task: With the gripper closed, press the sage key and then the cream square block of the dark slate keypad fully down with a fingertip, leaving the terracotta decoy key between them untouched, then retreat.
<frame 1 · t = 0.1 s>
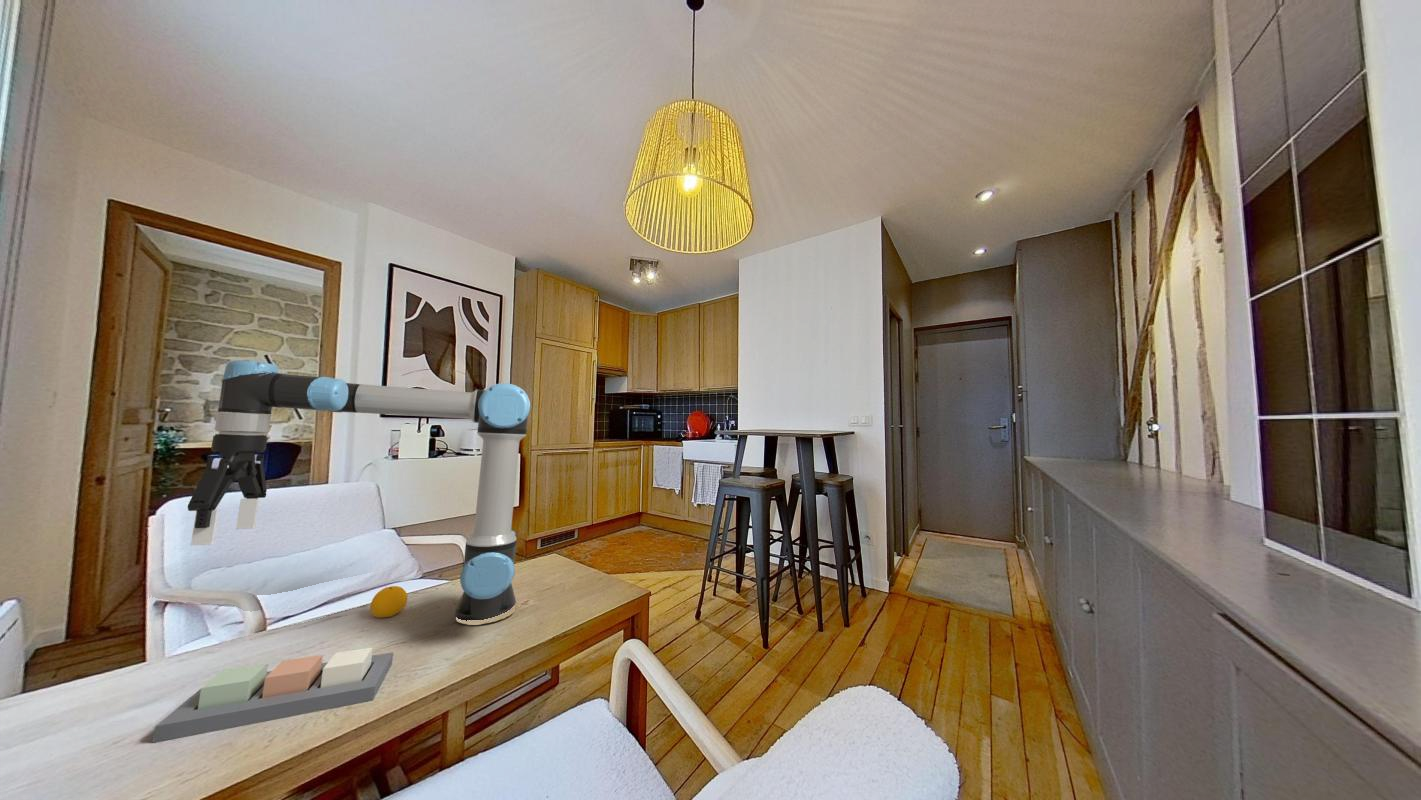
hand: (225, 536, 83), 28 cm above the table, fingers open, 13 cm apart
yellow lemon: (387, 615, 110), on the table
cream square block: (348, 666, 80), point 4 cm above the table, slide at 0.0 cm
keypad board: (291, 697, 76), on the table
key o: (234, 684, 73), point 4 cm above the table, slide at 0.0 cm
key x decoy: (294, 675, 76), point 4 cm above the table, slide at 0.0 cm
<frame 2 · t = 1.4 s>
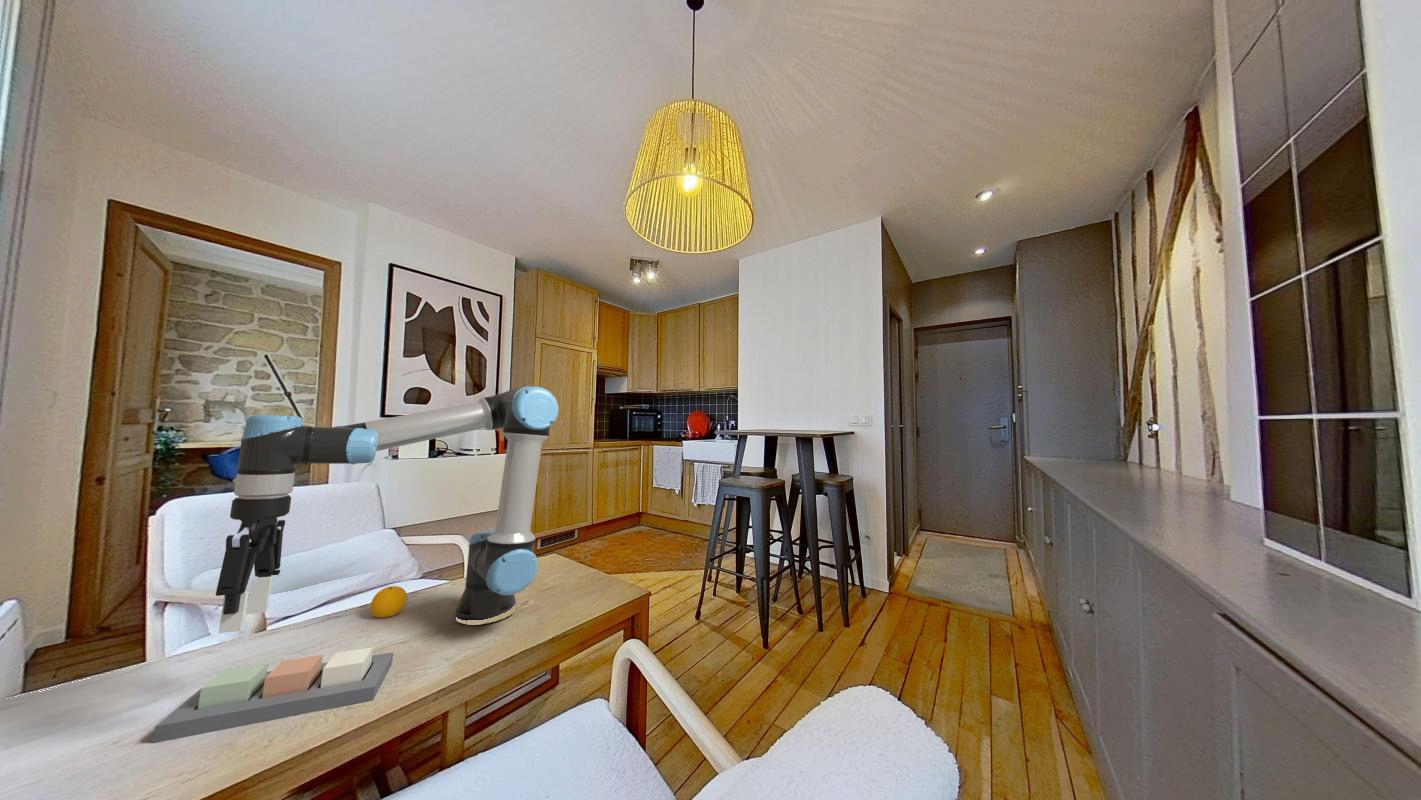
hand: (244, 621, 74), 15 cm above the table, fingers open, 7 cm apart
nothing on the table moved.
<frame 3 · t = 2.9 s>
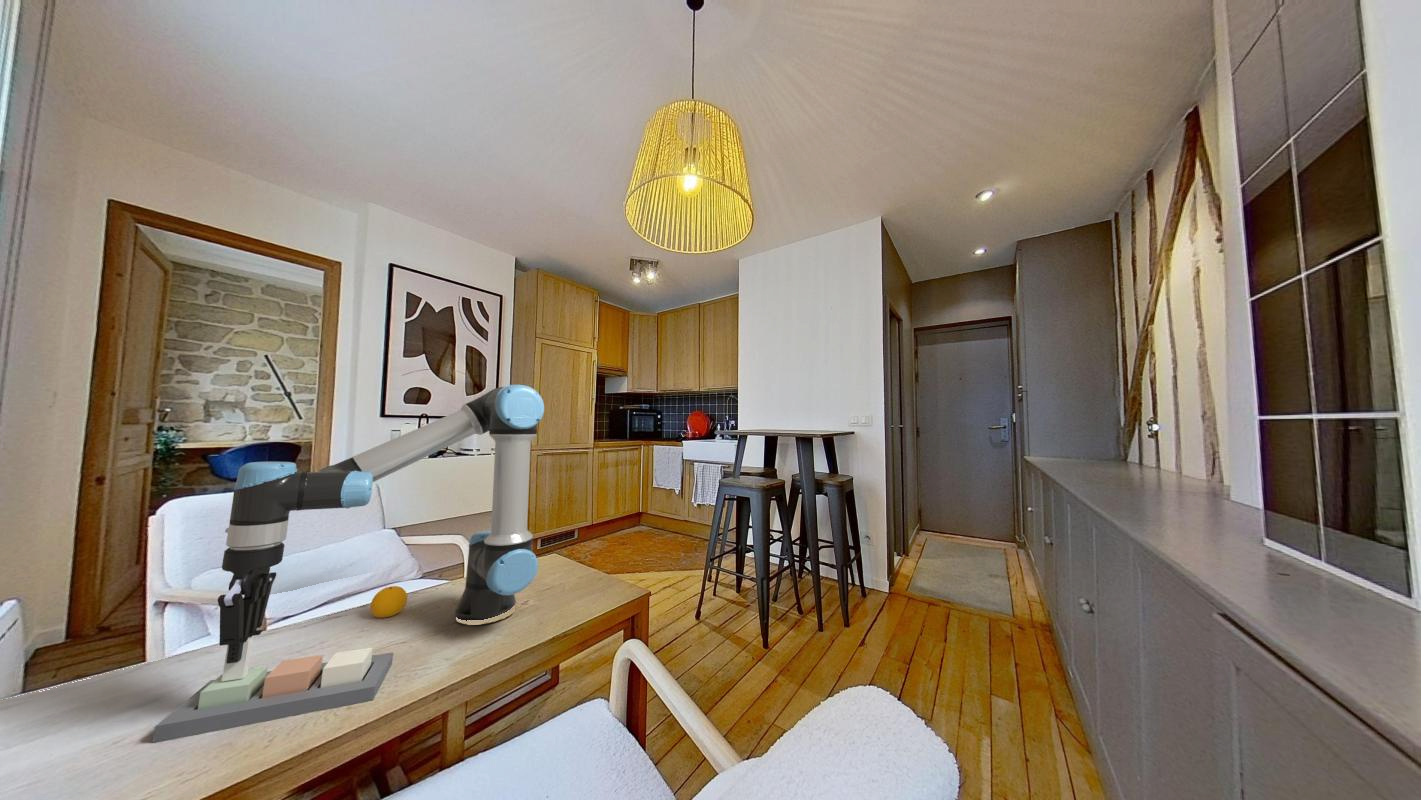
hand: (234, 677, 73), 5 cm above the table, fingers closed
key o: (234, 688, 73), point 3 cm above the table, slide at 0.7 cm, touching gripper
everything else where it was.
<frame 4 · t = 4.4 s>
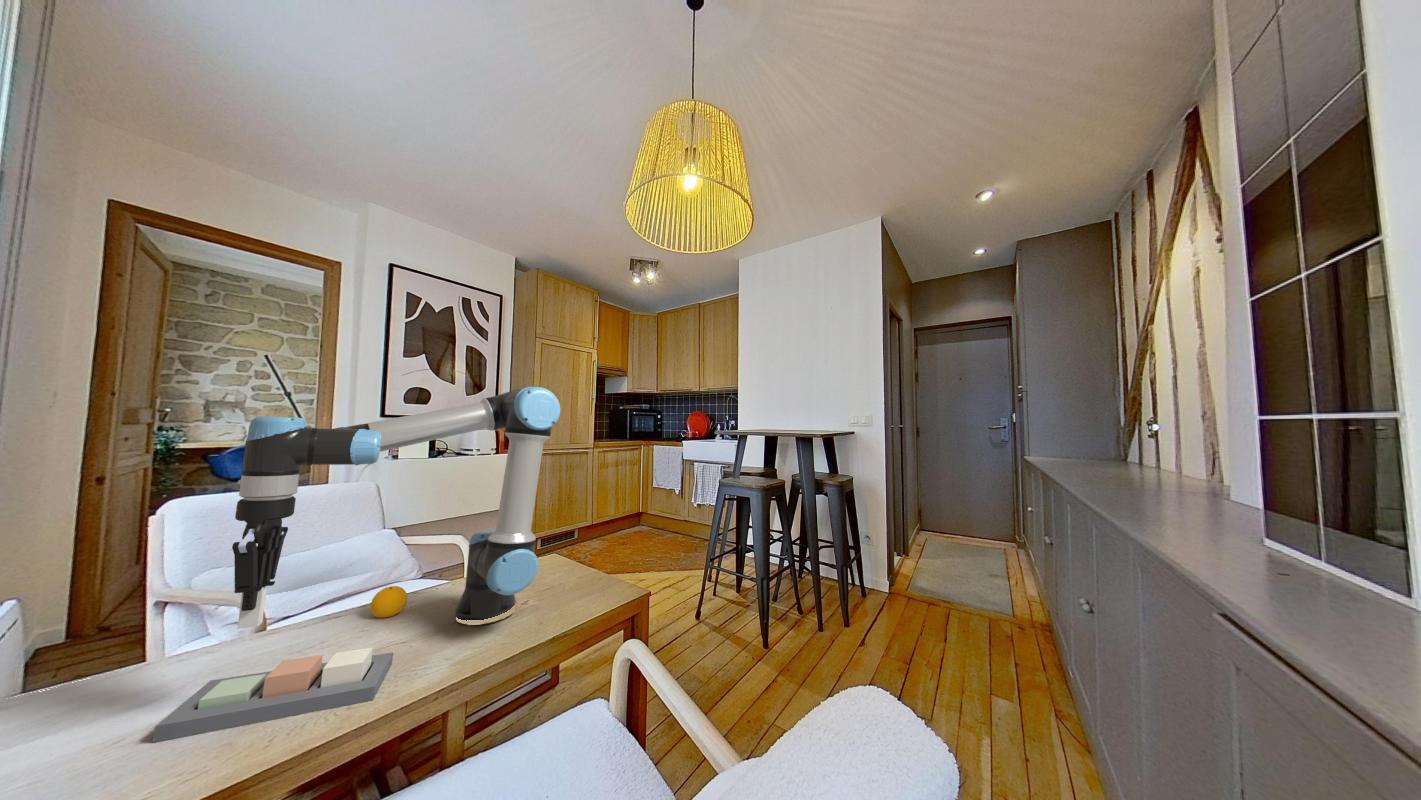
hand: (249, 625, 74), 14 cm above the table, fingers closed
key o: (233, 696, 72), point 2 cm above the table, slide at 2.0 cm
everything else where it was.
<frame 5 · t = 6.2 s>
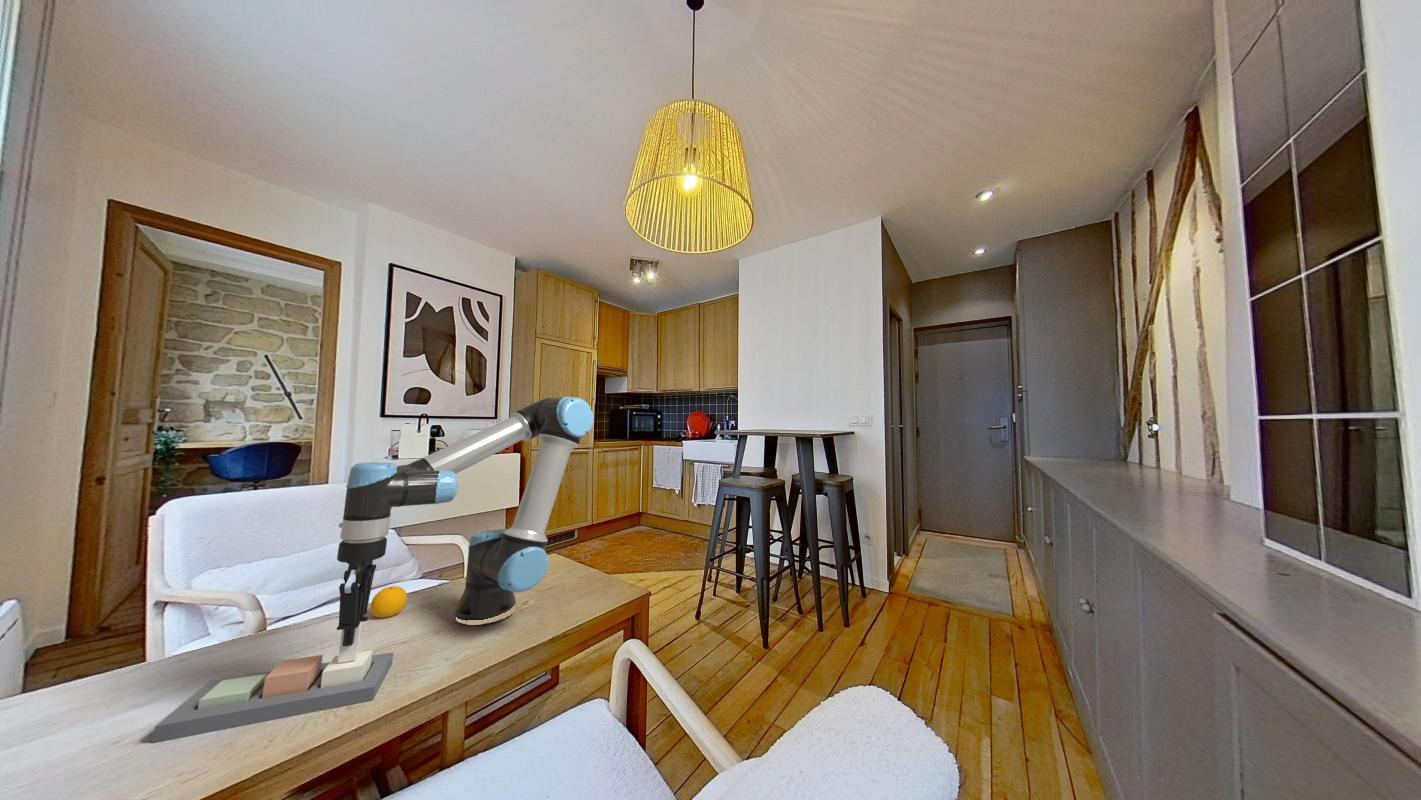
hand: (347, 659, 80), 5 cm above the table, fingers closed
cream square block: (347, 669, 80), point 3 cm above the table, slide at 0.6 cm, touching gripper
everything else where it was.
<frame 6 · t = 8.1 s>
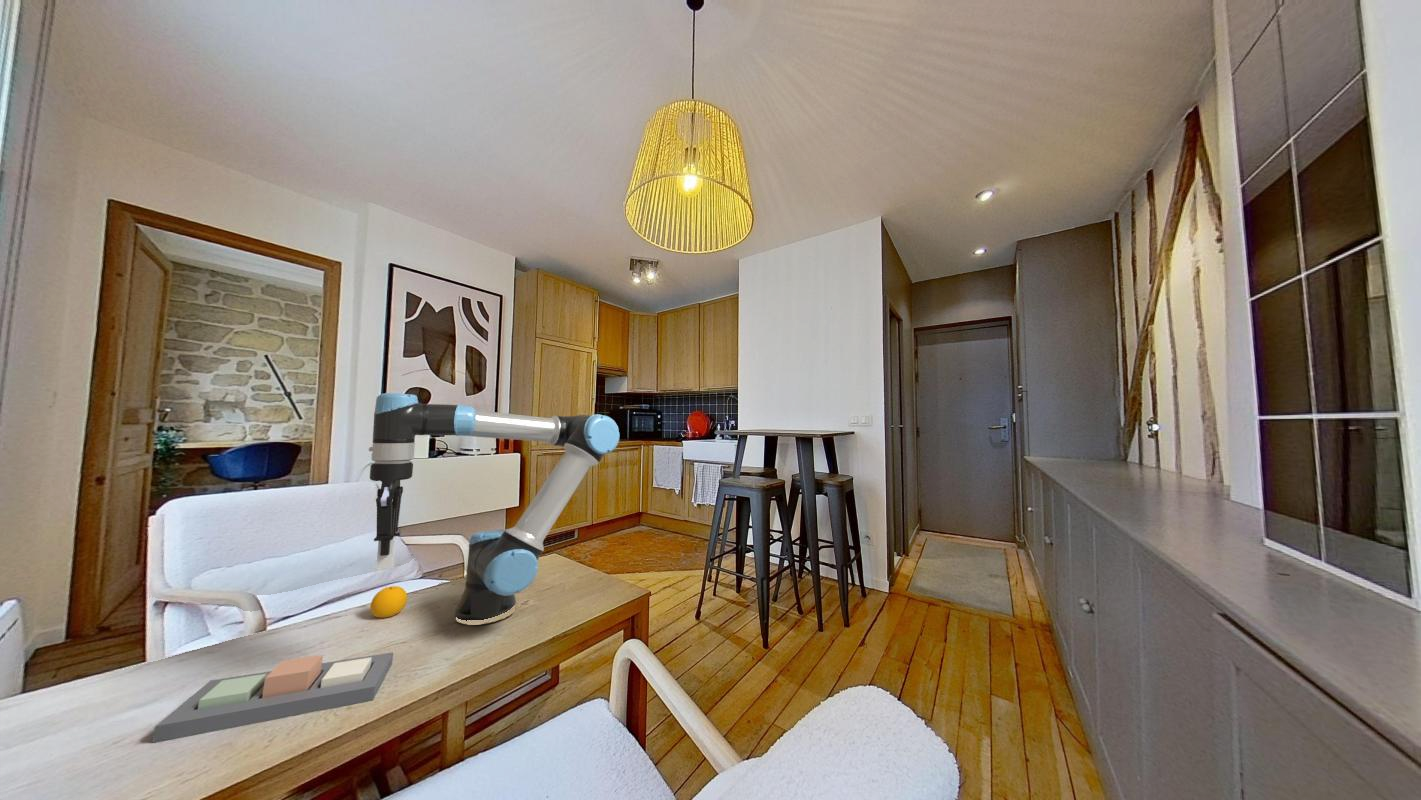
hand: (385, 568, 88), 21 cm above the table, fingers closed
cream square block: (346, 677, 79), point 2 cm above the table, slide at 2.0 cm
everything else where it was.
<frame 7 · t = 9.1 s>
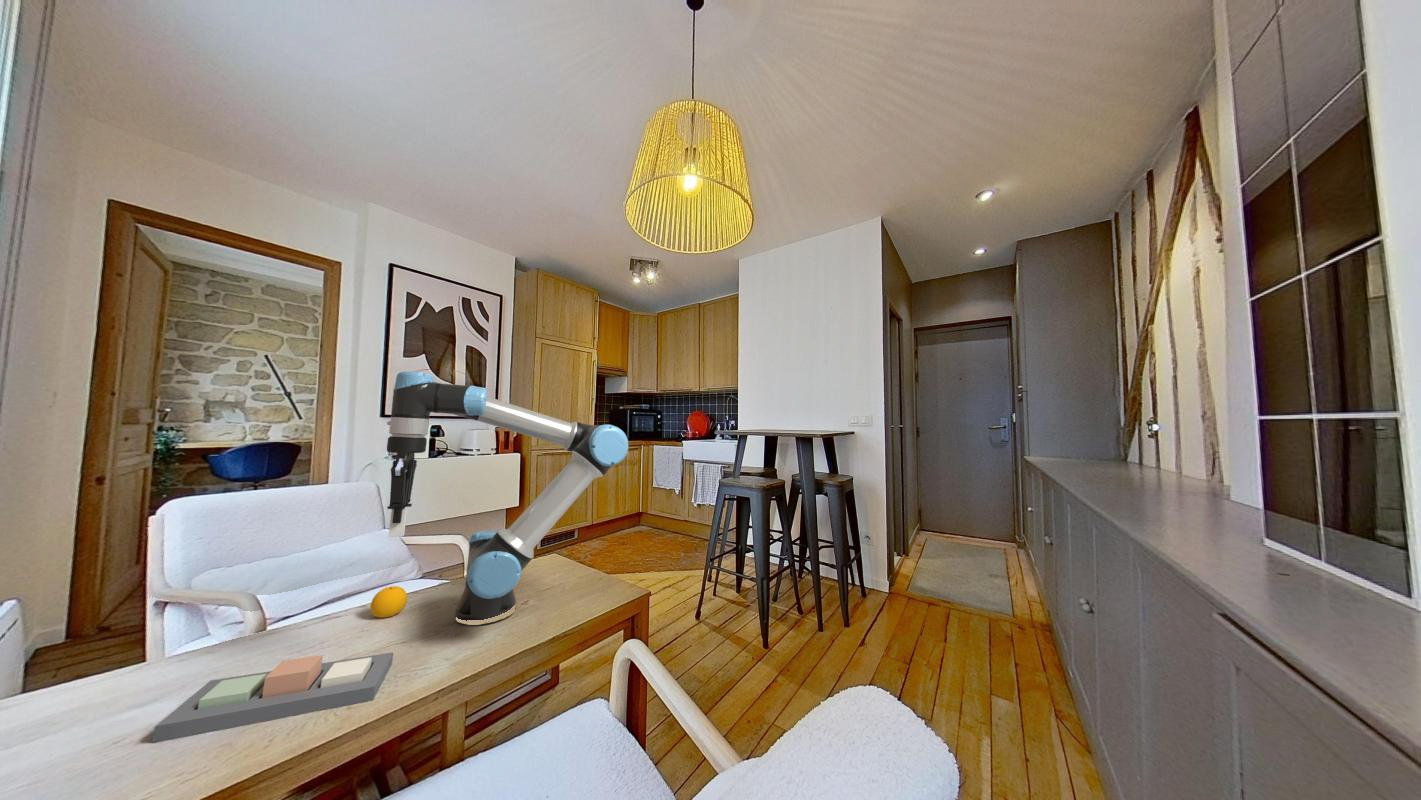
hand: (396, 536, 94), 26 cm above the table, fingers closed
nothing on the table moved.
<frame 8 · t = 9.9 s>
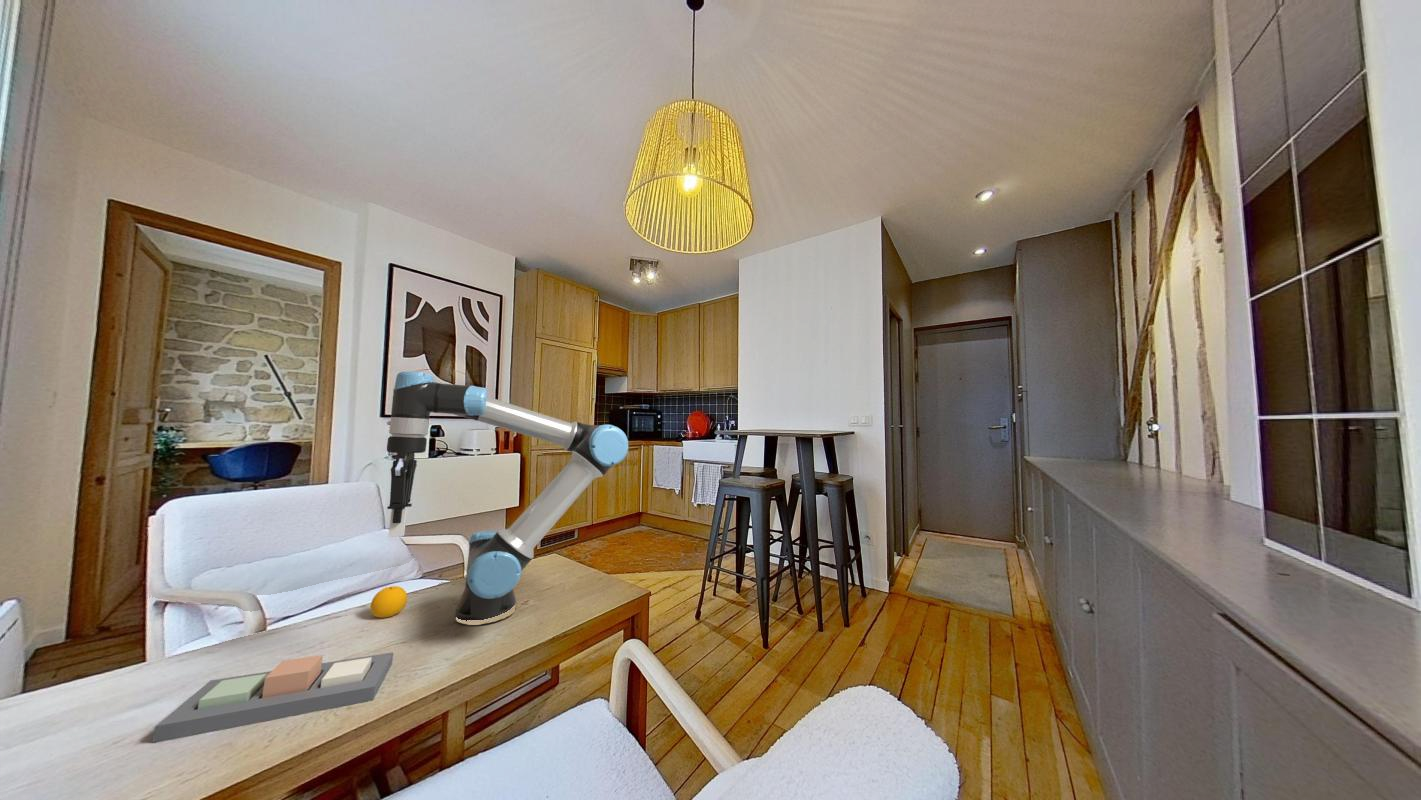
hand: (396, 536, 94), 26 cm above the table, fingers closed
nothing on the table moved.
at the end: key o slide at 2.0 cm; cream square block slide at 2.0 cm; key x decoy slide at 0.0 cm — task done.
